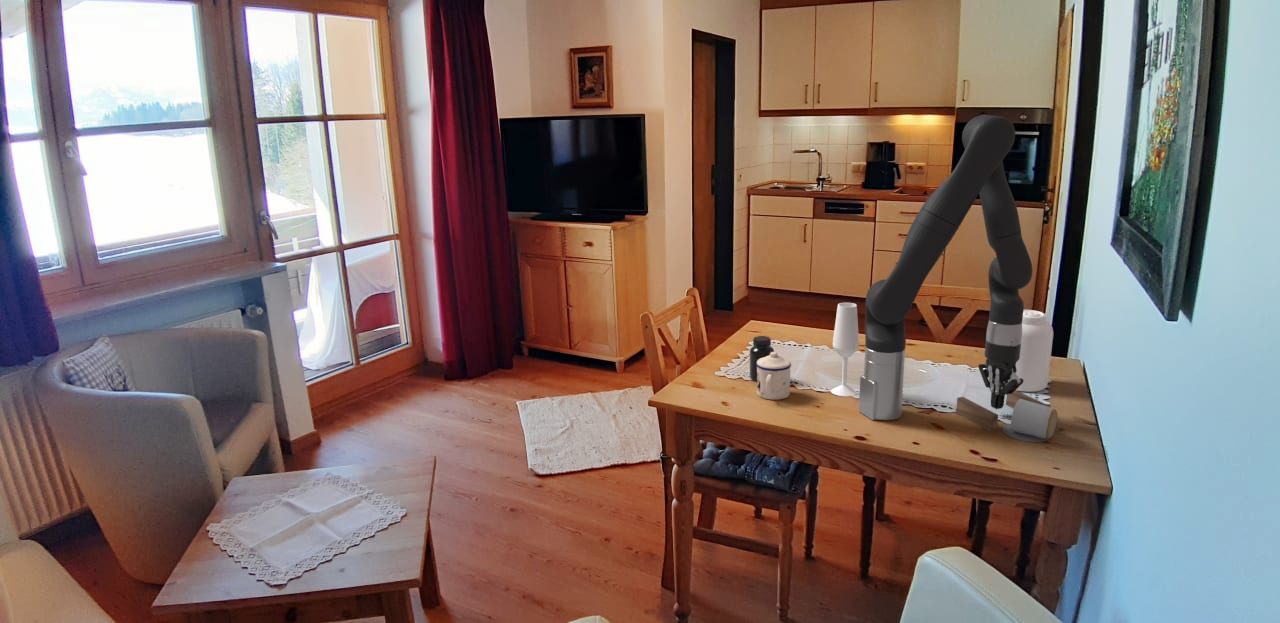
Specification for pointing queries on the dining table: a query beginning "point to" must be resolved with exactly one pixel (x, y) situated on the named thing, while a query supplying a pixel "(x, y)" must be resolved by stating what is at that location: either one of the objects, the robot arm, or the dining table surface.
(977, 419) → the holder
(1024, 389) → the white lidded jar
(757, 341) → the supplement bottle
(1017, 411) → the grey cylinder
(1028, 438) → the dark mat
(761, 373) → the teacup with lid
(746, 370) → the dining table surface
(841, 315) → the champagne flute
